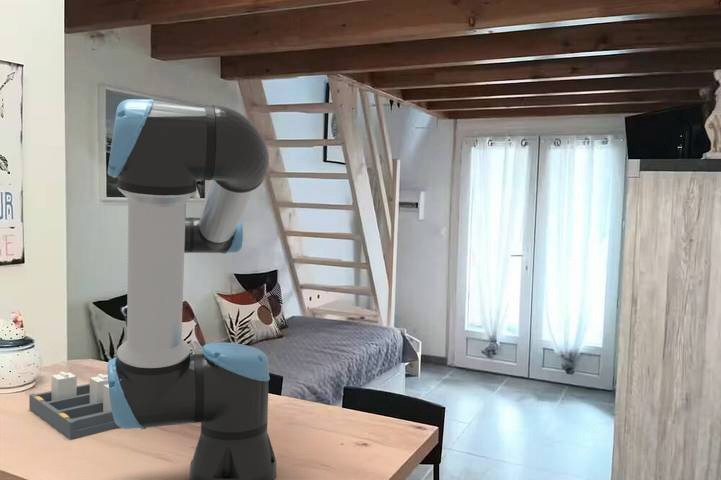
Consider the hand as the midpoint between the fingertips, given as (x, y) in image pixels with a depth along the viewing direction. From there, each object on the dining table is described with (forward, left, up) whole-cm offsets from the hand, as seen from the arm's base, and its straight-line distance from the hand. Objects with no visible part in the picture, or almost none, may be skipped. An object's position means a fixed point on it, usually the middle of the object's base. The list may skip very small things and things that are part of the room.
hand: (148, 376), depth 139 cm
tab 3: (+14, +13, -6) cm, 20 cm away
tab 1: (0, +8, -6) cm, 10 cm away
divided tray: (+7, +12, -8) cm, 16 cm away
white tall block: (+7, +8, -6) cm, 12 cm away
